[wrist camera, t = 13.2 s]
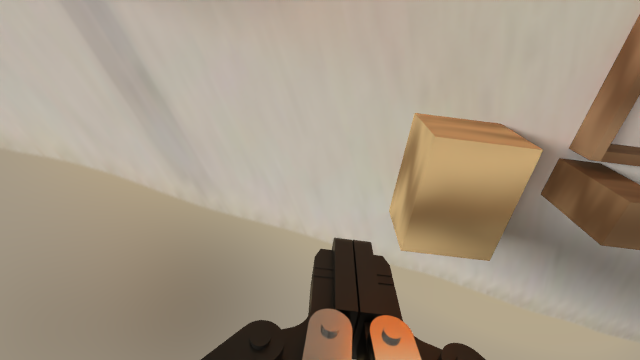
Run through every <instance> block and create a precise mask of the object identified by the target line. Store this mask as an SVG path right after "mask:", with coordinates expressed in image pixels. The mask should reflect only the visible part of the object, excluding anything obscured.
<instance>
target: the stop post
mask: <svg viewBox="0 0 640 360" xmlns="http://www.w3.org/2000/svg"><path fill="white" fill-rule="evenodd" d="M541 195H542V196H543V197H545V198H546V199H547V200H548V201H549V202H551V203H552V204H553V205H554V206H555V207H556V208H558V209H559V210H560V211H561V212H562V213H564V214H565V215H566V216H567V217H568V218H569V219H571V220H572V221H573V222H574V223H575V224H576V225H578V226H579V227H580V228H581V229H582V230H584V231H585V232H586V233H587V234H588V235H589V236H591V237H592V238H593V239H594V240H595V241H597V242H598V243H599V244H600V245H602V246H611V247H619V248H627V249H636V250H640V185H639V184H637V183H635V182H633V181H632V180H630V179H628V178H626V177H624V176H622V175H621V174H619V173H617V172H615V171H613V170H611V169H609V168H608V167H606V166H604V165H602V164H600V163H592V162H584V161H576V160H568V159H561V158H559V160H558V162H557V164H556V166H555V168H554V170H553V172H552V174H551V176H550V178H549V179H548V181H547V183H546V185H545V187H544V189H543V191H542V193H541Z"/></svg>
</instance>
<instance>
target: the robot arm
mask: <svg viewBox="0 0 640 360" xmlns="http://www.w3.org/2000/svg"><path fill="white" fill-rule="evenodd" d="M352 359H356V360H485V359H484V358H483V357H482V356H481V355H480V354H479V353H477V352H476V351H475V350H473V349H472V348H470V347H468V346H466V345H463V344H459V343H450V344H448V345H446V346H445V347H444V348H443V350H442V349H439V348H437V347H434V346H432V345H430V344H427V343H425V342H423V341H421V340H419V339H418V338H416V337H415V336H414V335H413V333H412V331H411V330H410V328H409V327H408V326H407V325H406V324H405V323H404V322H403V320H402V316H401V312H400V308H399V303H398V299H397V295H396V290H395V287H394V282H393V278H392V273H391V269H390V265H389V264H388V263H387V261H386V260H385V259H384V257H383V256H377V255H373V250H372V245H371V242H366V241H357V240H353V241H352V240H348V239H340V238H334V241H333V246H332V250H326V249H320V251H319V252H318V253H317V255H316V256H315V260H314V267H313V274H312V281H311V290H310V302H309V313H308V317H307V319H306V320H305V321H304V322H303V323H301V324H299V325H297V326H295V327H292V328H287V329H282V330H281V329H280V328H279V327H278V326H277V325H276V324H274V323H272V322H270V321H264V320H259V321H254V322H252V323H249V324H248V325H246V326H245V327H243V328H242V329H241V330H239V331H238V332H237V333H235V334H234V335H233V336H231V337H230V338H229V339H227V340H226V341H225V342H224V343H222V344H221V345H219V346H218V347H217V348H216V349H214V350H213V351H212V352H210V353H209V354H208V355H206V356H205V357H204V358H202V359H201V360H352Z"/></svg>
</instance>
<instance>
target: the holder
mask: <svg viewBox="0 0 640 360" xmlns="http://www.w3.org/2000/svg"><path fill="white" fill-rule="evenodd" d="M639 95H640V15H639V17H638V19H637V21H636V23H635V25H634V26H633V28H632V30H631V32H630V34H629V36H628V38H627V40H626V42H625V44H624V45H623V47H622V49H621V51H620V53H619V55H618V57H617V59H616V61H615V62H614V64H613V66H612V68H611V70H610V72H609V74H608V76H607V78H606V79H605V81H604V83H603V85H602V87H601V89H600V91H599V93H598V95H597V97H596V98H595V100H594V102H593V104H592V106H591V108H590V110H589V112H588V114H587V115H586V117H585V119H584V121H583V123H582V125H581V127H580V129H579V131H578V133H577V134H576V136H575V138H574V140H573V142H572V144H571V146H570V148H569V149H571V150H573V151H574V152H576V153H578V154H580V155H582V156H583V157H585V158H587V159H589V160H594V161H601V162H609V163H617V164H625V165H633V166H640V148H639V147H631V146H623V145H615V144H611V142H612V141H613V139H614V137H615V136H616V134H617V132H618V131H619V129H620V127H621V126H622V124H623V122H624V120H625V119H626V117H627V115H628V114H629V112H630V110H631V109H632V107H633V105H634V104H635V102H636V100H637V98H638V97H639Z"/></svg>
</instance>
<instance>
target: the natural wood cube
mask: <svg viewBox="0 0 640 360" xmlns="http://www.w3.org/2000/svg"><path fill="white" fill-rule="evenodd" d="M542 151H543V150H542V149H541V148H539V147H537V146H536V145H534V144H533V143H531V142H529V141H528V140H526V139H524V138H523V137H521V136H520V135H518V134H516V133H515V132H513V131H512V130H510V129H508V128H507V127H505V126H504V125H502V124H498V123H490V122H482V121H474V120H466V119H458V118H450V117H442V116H434V115H426V114H418V113H415V114H414V118H413V122H412V126H411V129H410V133H409V137H408V141H407V145H406V148H405V152H404V156H403V160H402V164H401V168H400V171H399V175H398V179H397V183H396V187H395V190H394V194H393V198H392V202H391V206H390V209H389V212H390V215H391V219H392V222H393V225H394V229H395V232H396V236H397V239H398V243H399V246H400V249H401V251H410V252H418V253H427V254H435V255H444V256H452V257H461V258H469V259H478V260H486V261H490V259H491V257H492V255H493V253H494V251H495V249H496V247H497V244H498V242H499V240H500V238H501V236H502V234H503V232H504V230H505V228H506V226H507V224H508V222H509V220H510V218H511V216H512V213H513V211H514V209H515V207H516V205H517V203H518V201H519V199H520V197H521V195H522V193H523V191H524V189H525V187H526V184H527V182H528V180H529V178H530V176H531V174H532V172H533V170H534V168H535V166H536V164H537V162H538V160H539V158H540V156H541V153H542Z"/></svg>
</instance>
